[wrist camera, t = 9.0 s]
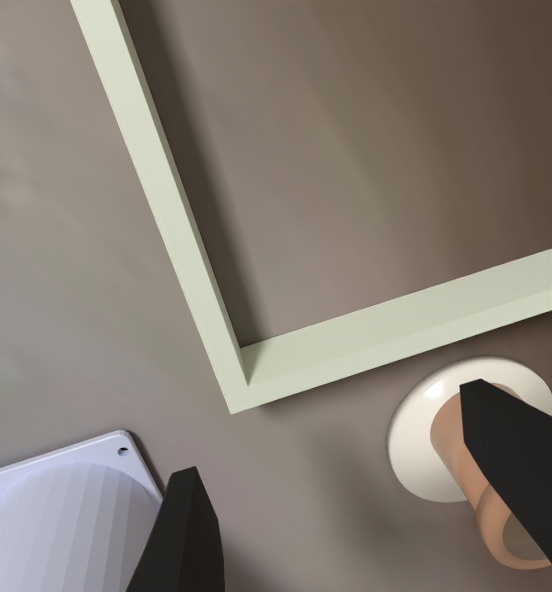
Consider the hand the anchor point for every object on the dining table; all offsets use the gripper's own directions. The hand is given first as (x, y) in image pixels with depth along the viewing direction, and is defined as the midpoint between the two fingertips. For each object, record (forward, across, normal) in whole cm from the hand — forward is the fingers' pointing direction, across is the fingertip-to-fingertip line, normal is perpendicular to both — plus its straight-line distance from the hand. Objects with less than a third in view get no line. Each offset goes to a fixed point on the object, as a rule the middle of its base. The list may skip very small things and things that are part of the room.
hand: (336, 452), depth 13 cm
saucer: (+9, -8, +10) cm, 16 cm away
